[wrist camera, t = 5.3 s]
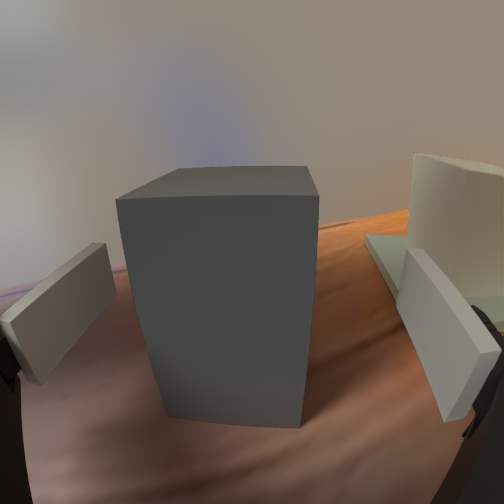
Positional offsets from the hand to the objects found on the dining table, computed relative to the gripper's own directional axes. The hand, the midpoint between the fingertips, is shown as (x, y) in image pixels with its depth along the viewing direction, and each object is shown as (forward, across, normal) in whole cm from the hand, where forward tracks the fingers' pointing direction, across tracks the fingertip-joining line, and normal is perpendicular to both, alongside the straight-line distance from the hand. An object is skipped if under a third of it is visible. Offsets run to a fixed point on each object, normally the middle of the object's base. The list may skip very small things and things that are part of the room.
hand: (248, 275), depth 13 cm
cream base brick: (+11, +18, -5) cm, 21 cm away
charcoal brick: (0, -1, -6) cm, 6 cm away
